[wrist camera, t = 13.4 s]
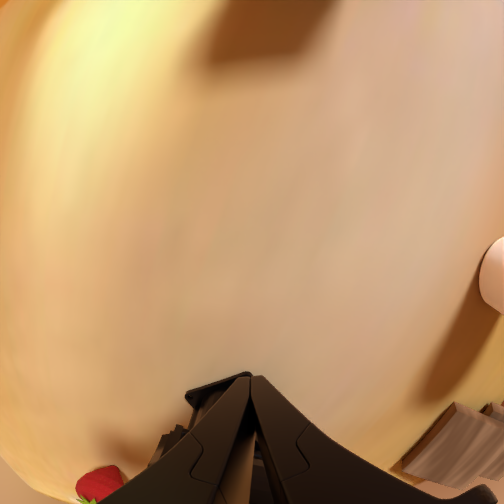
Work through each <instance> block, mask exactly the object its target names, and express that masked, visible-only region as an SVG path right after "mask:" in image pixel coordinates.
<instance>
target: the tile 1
mask: <svg viewBox="0 0 504 504" xmlns="http://www.w3.org/2000/svg"><path fill="white" fill-rule="evenodd" d="M503 450H504V423H503V422H501V421H498V420H496V419H494V418H491V417H489V416H486V415H484V414H482V413H479V412H477V411H475V410H472V409H470V408H468V407H466V406H463V405H461V404H459V403H457V402H454V403H453V404H452V405H451V406H450V408H449V409H448V410H447V412H446V413H445V414H444V415H443V417H442V418H441V419H440V420H439V421H438V423H437V424H436V425H435V426H434V427H433V428H432V430H431V431H430V432H429V433H428V434H427V435H426V436H425V438H424V439H423V440H422V441H421V442H420V443H419V444H418V445H417V446H416V447H415V448H414V449H413V450H412V451H411V452H410V453H409V454H408V456H407V457H406V458H405V459H404V460H402V472H405V473H408V474H411V475H414V476H417V477H419V478H422V479H426V480H429V481H432V482H435V483H438V484H442V485H445V486H449V487H452V488H457V489H460V490H463V489H465V488H466V487H467V486H468V485H469V484H470V483H472V481H474V480H475V479H476V478H477V477H478V476H479V475H480V474H481V473H482V472H483V471H484V470H485V469H486V468H487V467H488V466H489V465H490V464H491V463H492V462H493V461H494V460H495V459H496V458H497V457H498V456H499V455H500V454H501V453H502V452H503Z"/></svg>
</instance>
